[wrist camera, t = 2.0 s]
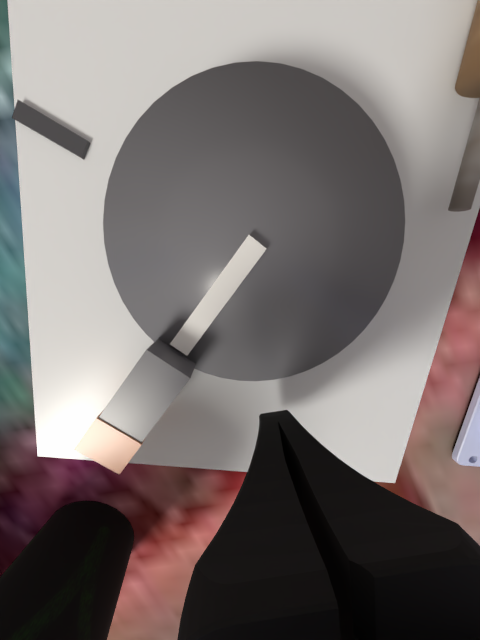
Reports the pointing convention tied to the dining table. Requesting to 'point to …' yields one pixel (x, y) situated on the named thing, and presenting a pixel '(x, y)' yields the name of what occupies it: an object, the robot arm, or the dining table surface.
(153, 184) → the grey handled disc
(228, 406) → the board
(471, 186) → the screwdriver
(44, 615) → the cup
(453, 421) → the dining table surface
